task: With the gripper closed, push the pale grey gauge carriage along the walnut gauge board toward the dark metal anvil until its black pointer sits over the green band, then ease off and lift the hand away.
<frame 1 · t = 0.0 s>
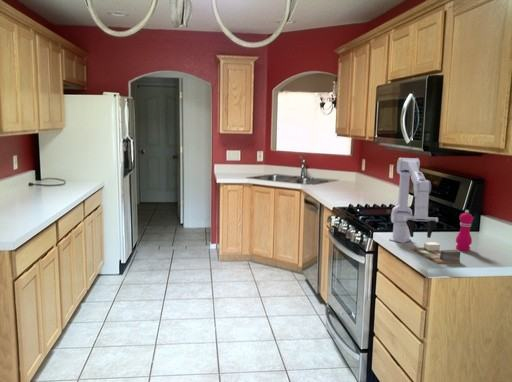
hand: (420, 237, 202), 11 cm above the worktop, tool pointing down, fingers open, 7 cm apart
pepper mill: (462, 249, 222), on the worktop
gauge base: (431, 252, 215), on the worktop
gauge carriage: (428, 246, 215), point 3 cm above the worktop, slide at 0.0 cm
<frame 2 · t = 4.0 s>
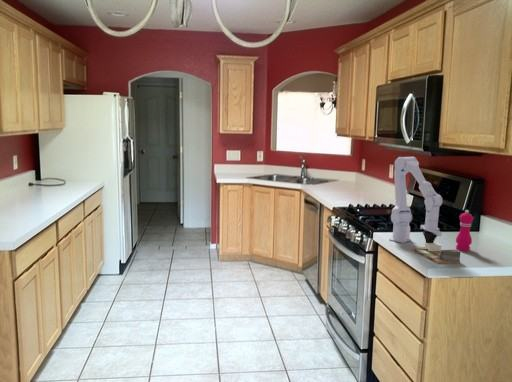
hand: (429, 246, 217), 2 cm above the worktop, tool pointing down, fingers closed
gauge carriage: (429, 247, 213), point 3 cm above the worktop, slide at 1.1 cm, touching gripper
everything else where it was.
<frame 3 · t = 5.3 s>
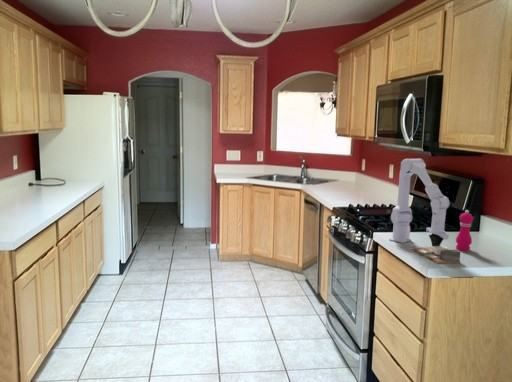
hand: (435, 250, 212), 2 cm above the worktop, tool pointing down, fingers closed
gauge carriage: (436, 250, 208), point 3 cm above the worktop, slide at 6.3 cm, touching gripper
everything else where it was.
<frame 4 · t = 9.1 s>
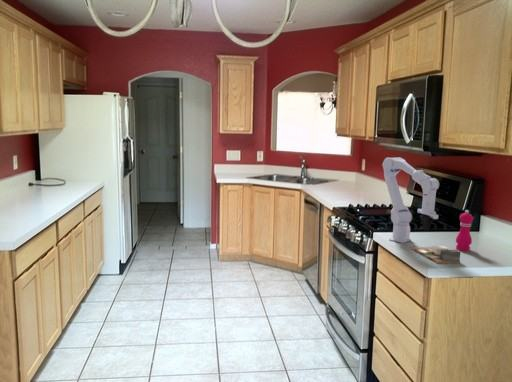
hand: (425, 230, 220), 9 cm above the worktop, tool pointing down, fingers closed
gauge carriage: (436, 250, 208), point 3 cm above the worktop, slide at 6.3 cm
everything else where it was.
at the end: gauge carriage slide at 6.3 cm; the gripper is holding nothing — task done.
